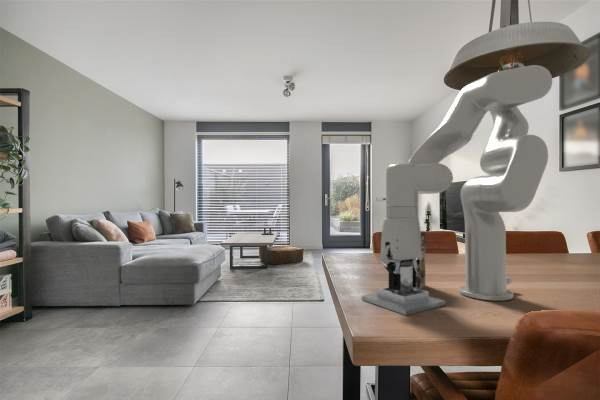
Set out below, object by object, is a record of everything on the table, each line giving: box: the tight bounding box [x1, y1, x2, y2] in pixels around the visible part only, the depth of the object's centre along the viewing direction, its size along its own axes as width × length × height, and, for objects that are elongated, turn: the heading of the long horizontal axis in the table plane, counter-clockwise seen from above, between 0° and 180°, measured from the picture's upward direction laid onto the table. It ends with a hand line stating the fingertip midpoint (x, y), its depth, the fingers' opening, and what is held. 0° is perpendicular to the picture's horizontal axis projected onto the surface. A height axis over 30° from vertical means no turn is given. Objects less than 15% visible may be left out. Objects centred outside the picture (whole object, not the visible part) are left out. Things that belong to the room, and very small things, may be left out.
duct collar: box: [361, 286, 447, 316], centre depth 83 cm, size 14×14×3 cm
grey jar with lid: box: [392, 260, 413, 295], centre depth 83 cm, size 5×5×8 cm
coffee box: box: [414, 231, 426, 290], centre depth 98 cm, size 9×6×16 cm
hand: (402, 287), depth 83 cm, fingers closed on grey jar with lid, 4 cm apart
